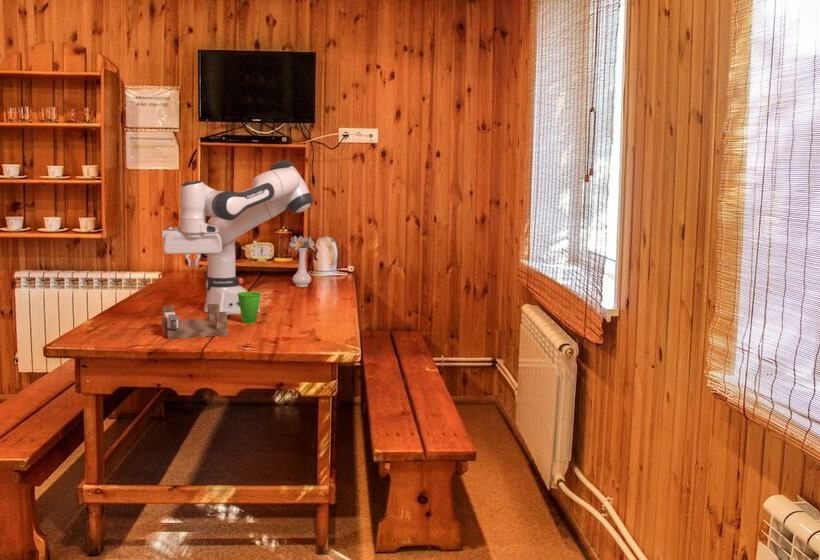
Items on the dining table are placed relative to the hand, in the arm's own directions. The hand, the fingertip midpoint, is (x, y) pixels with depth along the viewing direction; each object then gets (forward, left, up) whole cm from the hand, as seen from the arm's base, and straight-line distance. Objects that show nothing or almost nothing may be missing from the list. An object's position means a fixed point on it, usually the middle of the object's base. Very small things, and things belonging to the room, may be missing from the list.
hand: (192, 266), depth 283 cm
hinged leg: (+8, +5, -20) cm, 22 cm away
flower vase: (-65, -92, -23) cm, 115 cm away
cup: (-22, -9, -23) cm, 33 cm away
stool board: (0, +3, -23) cm, 23 cm away
